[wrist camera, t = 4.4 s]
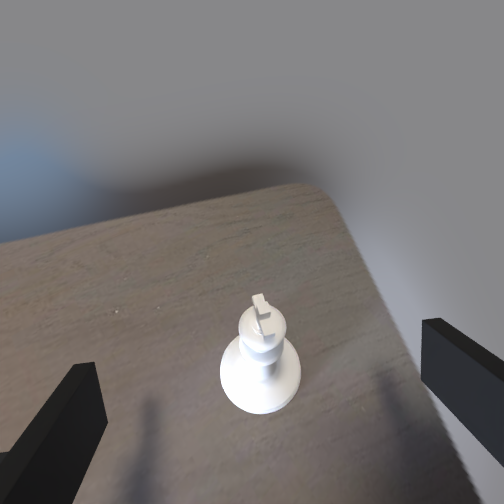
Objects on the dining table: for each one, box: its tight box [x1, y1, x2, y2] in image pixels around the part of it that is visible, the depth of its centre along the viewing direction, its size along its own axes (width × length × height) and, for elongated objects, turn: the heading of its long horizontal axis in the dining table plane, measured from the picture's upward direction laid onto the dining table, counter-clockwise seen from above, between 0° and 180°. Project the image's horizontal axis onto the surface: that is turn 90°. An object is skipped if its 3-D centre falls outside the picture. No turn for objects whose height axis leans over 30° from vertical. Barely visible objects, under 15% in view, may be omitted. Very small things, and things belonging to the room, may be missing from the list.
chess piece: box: [220, 294, 301, 414], centre depth 17 cm, size 5×5×10 cm
